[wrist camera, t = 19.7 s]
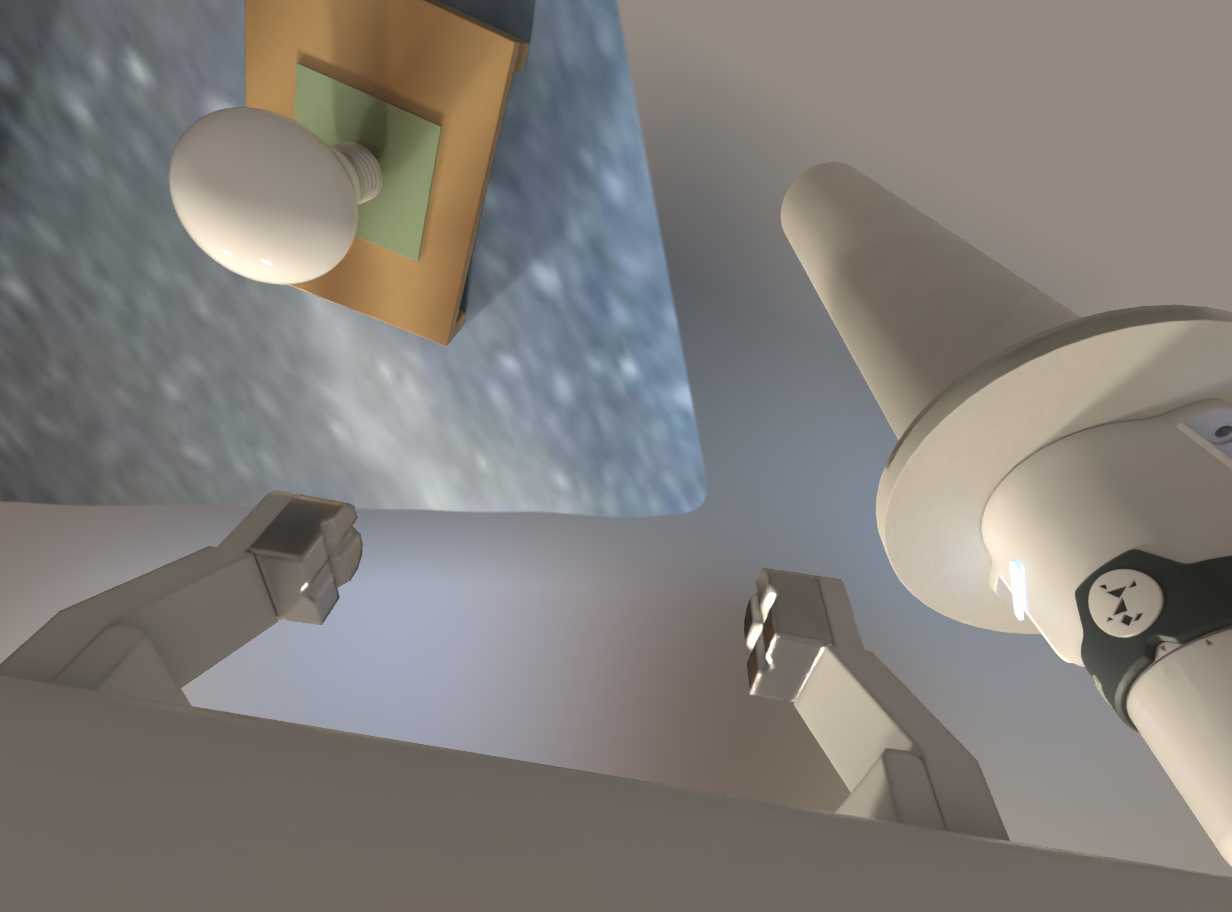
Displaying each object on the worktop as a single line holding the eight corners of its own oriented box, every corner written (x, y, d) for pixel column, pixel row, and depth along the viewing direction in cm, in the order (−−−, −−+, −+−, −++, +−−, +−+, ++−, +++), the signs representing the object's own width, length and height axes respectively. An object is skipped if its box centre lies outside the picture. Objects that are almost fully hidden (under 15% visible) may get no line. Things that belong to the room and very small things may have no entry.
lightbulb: (318, 65, 27) (129, 68, 18) (442, 149, 28) (326, 191, 19) (287, 188, 30) (115, 244, 21) (399, 258, 31) (283, 337, 22)
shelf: (530, 43, 28) (514, 41, 25) (462, 327, 37) (445, 347, 34) (285, -72, 26) (240, -86, 24) (277, 254, 35) (244, 269, 33)
